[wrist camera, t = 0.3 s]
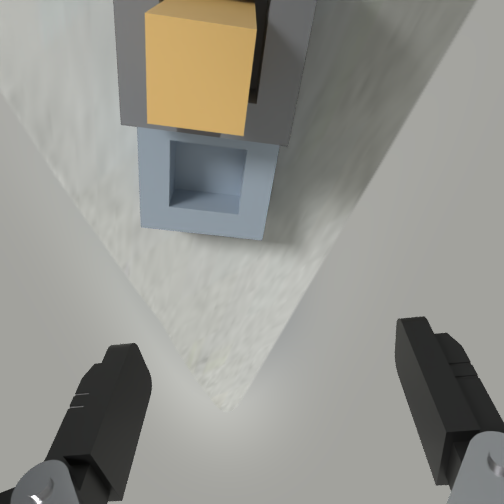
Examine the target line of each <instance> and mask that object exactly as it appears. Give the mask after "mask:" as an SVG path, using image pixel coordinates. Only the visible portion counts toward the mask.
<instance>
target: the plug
mask: <svg viewBox="0 0 504 504" xmlns="http://www.w3.org/2000/svg"><path fill="white" fill-rule="evenodd" d="M256 33H257V24H256V10H255V0H164V1H162V2H161V3H159V4H157V5H156V6H154V7H153V8H151V9H150V10H148V11H147V12H145V45H146V90H147V124H154V125H162V126H170V127H177V132H180V133H188V134H196V135H204V136H211V137H219V138H220V136H221V133H224V134H231V135H239V136H244V128H245V120H246V112H247V104H248V96H249V88H250V80H251V72H252V64H253V57H254V49H255V41H256Z"/></svg>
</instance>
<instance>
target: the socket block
mask: <svg viewBox="0 0 504 504" xmlns="http://www.w3.org/2000/svg"><path fill="white" fill-rule="evenodd" d="M162 1H164V0H113V4H114V20H115V36H116V52H117V68H118V85H119V101H120V117H121V125H126V126H134V127H137V135H138V162H139V189H140V215H141V227H144V228H153V229H162V230H171V231H180V232H190V233H199V234H208V235H217V236H226V237H235V238H245V239H254V240H262V239H263V233H264V228H265V222H266V217H267V212H268V206H269V201H270V195H271V190H272V185H273V179H274V174H275V168H276V163H277V157H278V152H279V147H280V145H281V146H288V144H289V139H290V134H291V129H292V124H293V119H294V114H295V109H296V104H297V99H298V94H299V89H300V84H301V79H302V74H303V69H304V63H305V58H306V53H307V48H308V43H309V38H310V33H311V28H312V23H313V18H314V13H315V8H316V3H317V0H255V10H256V24H257V33H256V41H255V49H254V57H253V64H252V72H251V80H250V88H249V96H248V104H247V112H246V120H245V128H244V136H239V135H231V134H224V133H221V136H220V138H219V137H211V136H204V135H196V134H188V133H180V132H177V127H170V126H162V125H154V124H147V90H146V45H145V12H147V11H148V10H150V9H151V8H153V7H154V6H156V5H157V4H159V3H161V2H162Z"/></svg>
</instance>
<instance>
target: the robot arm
mask: <svg viewBox="0 0 504 504" xmlns="http://www.w3.org/2000/svg"><path fill="white" fill-rule="evenodd" d="M395 362H396V368H397V372H398V376H399V378H400V382H401V384H402V387H403V390H404V393H405V396H406V399H407V402H408V405H409V408H410V411H411V414H412V417H413V419H414V422H415V425H416V428H417V431H418V434H419V437H420V440H421V443H422V446H423V449H424V452H425V454H426V457H427V460H428V463H429V466H430V469H431V472H432V475H433V478H434V481H435V484H436V485H449V486H450V489H451V494H450V496H449V499H448V502H447V504H504V422H503V421H502V419H501V417H500V415H499V413H498V411H497V410H496V408H495V406H494V404H493V402H492V401H491V398H490V397H489V395H488V393H487V391H486V389H485V387H484V386H483V384H482V382H481V380H480V378H478V376H477V373H476V371H475V369H474V367H473V366H472V365H471V363H470V360H469V358H468V356H467V354H466V353H465V351H464V349H463V347H462V346H461V345H460V344H459V343H458V342H457V341H456V340H455V339H453V338H452V337H451V336H450V335H449V334H448V333H440V334H434V333H433V331H432V329H431V327H430V324H429V322H428V320H427V319H426V318H425V317H412V318H403V319H398V320H397V326H396V343H395ZM151 390H152V382H151V375H150V373H149V370H148V368H147V366H146V364H145V362H144V359H143V357H142V355H141V352H140V350H139V348H138V346H137V345H136V344H135V343H130V344H120V345H111V346H110V347H109V348H108V350H107V352H106V354H105V356H104V359H103V361H102V363H98V364H94V365H93V366H92V367H91V369H90V370H89V371H88V372H87V373H86V374H85V375H84V377H83V378H82V380H81V382H80V384H79V386H78V389H77V391H76V393H75V394H76V395H75V396H74V397H73V400H72V402H71V404H70V409H68V411H67V413H66V415H65V417H64V419H63V422H62V424H61V426H60V428H59V430H58V433H57V435H56V437H55V439H54V441H53V444H52V446H51V448H50V450H49V452H48V455H47V457H46V459H45V460H44V462H42V463H40V464H38V465H36V466H35V467H33V468H31V469H30V470H29V471H28V472H27V473H26V474H25V475H24V476H23V477H22V478H21V479H20V480H19V482H18V483H17V485H16V487H14V488H12V489H9V490H7V491H4V492H2V493H0V504H107V502H108V501H122V499H123V495H124V492H125V488H126V484H127V481H128V477H129V473H130V469H131V465H132V462H133V458H134V455H135V451H136V447H137V444H138V439H139V436H140V432H141V429H142V425H143V421H144V418H145V414H146V410H147V407H148V403H149V399H150V395H151Z"/></svg>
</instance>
